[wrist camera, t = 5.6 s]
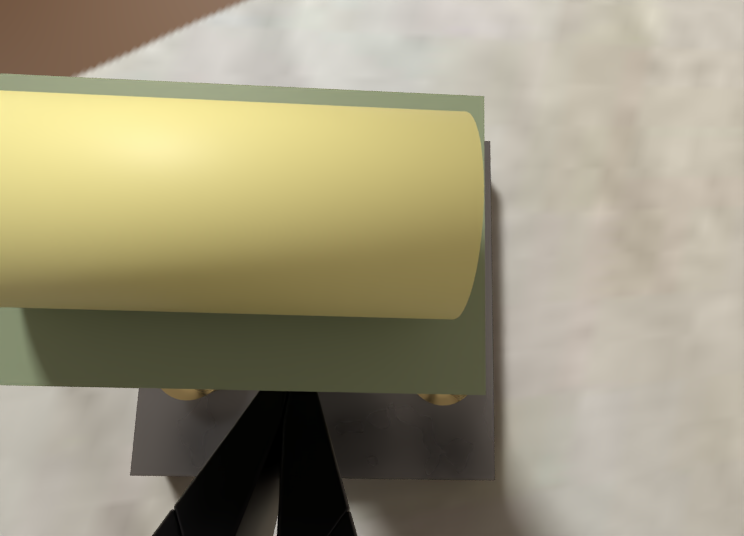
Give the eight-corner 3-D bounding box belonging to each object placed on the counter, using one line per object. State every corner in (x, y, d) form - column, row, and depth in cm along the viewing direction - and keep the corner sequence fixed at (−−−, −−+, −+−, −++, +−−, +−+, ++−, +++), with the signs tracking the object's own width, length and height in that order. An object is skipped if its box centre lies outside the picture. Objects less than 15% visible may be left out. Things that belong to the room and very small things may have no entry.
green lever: (393, 338, 16) (606, 446, 2) (246, 334, 15) (-400, 429, 2) (395, 257, 16) (590, -31, 3) (251, 252, 16) (-279, -81, 3)
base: (478, 462, 17) (531, 520, 12) (156, 457, 17) (69, 515, 12) (476, 160, 19) (520, 99, 14) (185, 148, 19) (120, 80, 13)
